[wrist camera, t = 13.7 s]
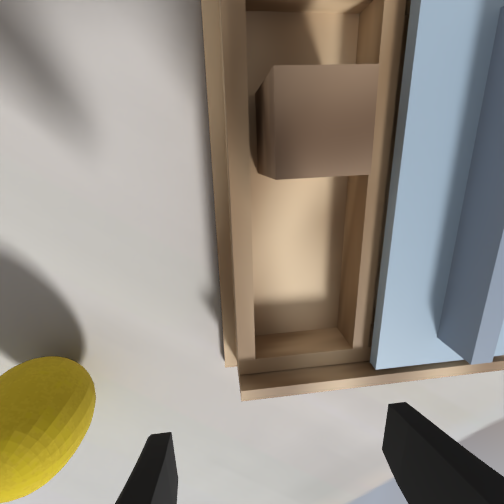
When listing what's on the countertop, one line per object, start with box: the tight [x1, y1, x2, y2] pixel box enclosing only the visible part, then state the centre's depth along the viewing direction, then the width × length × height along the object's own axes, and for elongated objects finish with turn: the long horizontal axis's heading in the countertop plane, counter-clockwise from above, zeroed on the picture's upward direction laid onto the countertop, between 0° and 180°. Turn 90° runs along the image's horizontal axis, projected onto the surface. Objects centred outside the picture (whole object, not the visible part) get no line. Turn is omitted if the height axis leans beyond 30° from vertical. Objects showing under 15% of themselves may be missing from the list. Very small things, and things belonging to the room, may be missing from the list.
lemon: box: [0, 356, 96, 503], centre depth 16 cm, size 6×6×8 cm
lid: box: [370, 0, 504, 370], centre depth 14 cm, size 8×20×3 cm, turn 1°
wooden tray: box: [201, 0, 504, 401], centre depth 16 cm, size 19×23×4 cm
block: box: [255, 64, 379, 180], centre depth 14 cm, size 4×4×5 cm
